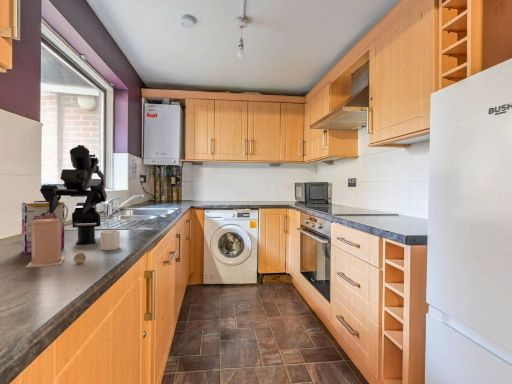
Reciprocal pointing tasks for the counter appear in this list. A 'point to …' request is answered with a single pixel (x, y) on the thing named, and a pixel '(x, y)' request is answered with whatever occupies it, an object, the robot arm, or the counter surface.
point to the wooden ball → (79, 258)
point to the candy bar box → (34, 213)
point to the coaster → (45, 264)
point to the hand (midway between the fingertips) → (66, 212)
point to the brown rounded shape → (46, 241)
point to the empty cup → (110, 239)
